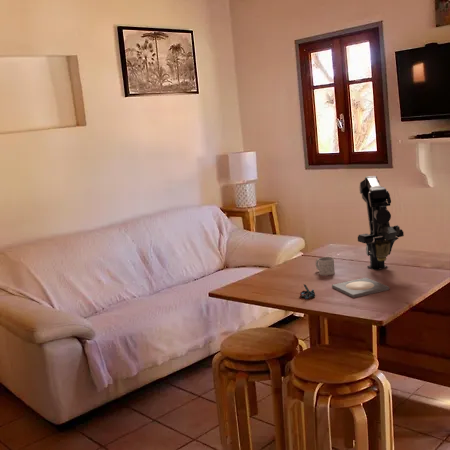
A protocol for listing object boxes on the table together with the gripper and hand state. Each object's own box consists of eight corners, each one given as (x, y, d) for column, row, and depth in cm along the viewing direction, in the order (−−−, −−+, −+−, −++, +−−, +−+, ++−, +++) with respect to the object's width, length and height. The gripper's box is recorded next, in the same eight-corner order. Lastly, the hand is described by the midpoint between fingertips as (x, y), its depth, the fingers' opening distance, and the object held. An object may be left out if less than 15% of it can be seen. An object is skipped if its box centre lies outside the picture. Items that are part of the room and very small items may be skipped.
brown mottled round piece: (392, 258, 245) (391, 239, 243) (389, 263, 238) (388, 244, 237) (374, 258, 248) (373, 239, 246) (371, 262, 241) (370, 244, 240)
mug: (337, 273, 257) (336, 258, 256) (326, 276, 253) (325, 261, 252) (322, 269, 265) (321, 255, 264) (311, 272, 262) (310, 258, 260)
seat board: (332, 287, 237) (331, 284, 237) (366, 280, 242) (366, 277, 242) (353, 297, 222) (353, 294, 222) (389, 289, 227) (389, 286, 227)
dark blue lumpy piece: (320, 293, 225) (304, 281, 227) (309, 308, 224) (293, 296, 226) (321, 296, 232) (305, 285, 235) (310, 311, 231) (295, 299, 234)
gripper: (371, 225, 229) (373, 263, 232) (411, 218, 235) (412, 255, 238) (355, 221, 240) (358, 258, 243) (394, 214, 246) (396, 250, 248)
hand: (381, 255), depth 243 cm, fingers closed on brown mottled round piece, 6 cm apart
